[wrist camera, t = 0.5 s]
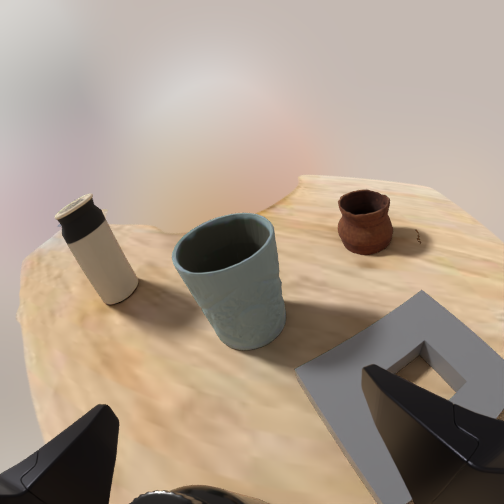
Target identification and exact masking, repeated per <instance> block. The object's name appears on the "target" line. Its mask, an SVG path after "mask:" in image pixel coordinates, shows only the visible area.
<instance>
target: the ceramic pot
mask: <svg viewBox="0 0 504 504" xmlns="http://www.w3.org/2000/svg"><path fill="white" fill-rule="evenodd" d="M338 204H339V208H340V211H341V213H342V218H341V219H340V221H339V223H338V233H339V236H340V237H341V239H342V242H343V244H344V246H345V247H346V248H347V249H348V250H349V251H351V252H353V253H356V254H360V255H370V254H374V253H377V252H380V251H382V250H383V249H385V248H386V247H387V246H388V245H389V243H390V241H391V239H392V234H393V227H392V224H391V221H390V218H389V216H388V210H389V206H390V199H389V198H388V197H387V196H386V195H381V194H380V193H378V192H374V191H370V190H357V191H353V192H350V193H347V194H345V195H343V196H342V197H340V200H339V201H338ZM416 232H417V233H418V231H417V230H416ZM417 240H420V239H419V234H418V238H417ZM418 242H420V241H418ZM420 244H421V242H420Z"/></svg>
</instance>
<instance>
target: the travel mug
mask: <svg viewBox="0 0 504 504" xmlns="http://www.w3.org/2000/svg"><path fill="white" fill-rule="evenodd" d="M92 197H93V195H92V194H87V195H85V196H82V197H80V198H79V199H77V200H75V201H73V202H72V203H70V204H69V205H67V206H66V207H64V208H63V209H62V210H61V211H59V212H58V213H57V214H56V216H55V219H57V220H58V221H59V222H60V224H61V225H62V236H63V237H64V239H65V241H66V243H67V245H68V246H69V248H70V250H71V252H72V253H73V255H74V257H75V258H76V260H77V262H78V263H79V265H80V267H81V268H82V270H83V271H84V273H85V275H86V276H87V278H88V279H89V281H90V282H91V284H92V285H93V287H94V288H95V290H96V291H97V293H98V294H99V296H100V297H101V299H102V300H103V302H104V303H106V304H115V303H118V302H121V301H123V300H124V299H126V298H127V297H128V296H129V295H131V294H132V293H133V291H134V290H135V288H136V287H137V285H138V278H137V276H136V274H135V273H134V271H133V269H132V268H131V266H130V264H129V262H128V260H127V259H126V257H125V255H124V253H123V251H122V250H121V248H120V246H119V244H118V242H117V240H116V238H115V236H114V234H113V233H112V231H111V229H110V227H109V225H108V223H107V221H106V219H105V217H104V215H103V213H102V210H101V209H99V208H98V207H97V206H95V205H94V202H93V199H92Z"/></svg>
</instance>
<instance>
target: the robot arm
mask: <svg viewBox="0 0 504 504" xmlns="http://www.w3.org/2000/svg"><path fill="white" fill-rule="evenodd" d="M361 387H362V391H363V393H364V396H365V399H366V401H367V404H368V407H369V410H370V412H371V415H372V418H373V421H374V423H375V426H376V428H377V430H378V432H379V434H380V436H381V438H382V440H383V442H384V443H385V445H386V447H387V449H388V451H389V453H390V455H391V457H392V459H393V461H394V463H395V465H396V467H397V469H398V471H399V473H400V475H401V477H402V479H403V481H404V483H405V485H406V487H407V489H408V491H409V494H410V496H411V498H412V500H413V502H414V504H504V421H502V420H499V419H495V418H492V417H488V416H485V415H482V414H479V413H476V412H474V411H471V410H469V409H466V408H464V407H462V406H459V405H457V404H453V402H451V401H449V400H446V399H444V398H442V397H440V396H438V395H436V394H434V393H432V392H430V391H428V390H426V389H423V388H421V387H419V386H417V385H415V384H413V383H411V382H409V381H407V380H405V379H403V378H401V377H399V376H397V375H395V374H393V373H392V372H390V371H388V370H386V369H384V368H382V367H380V366H378V365H376V364H371V365H368V366H365V367H363V368H362V379H361ZM118 433H119V420H118V418H117V416H116V415H115V414H114V412H113V411H112V409H111V408H110V407H109V406H108V405H106V404H98V405H96V406H95V407H94V408H93V409H91V410H90V411H89V412H87V413H86V414H85V415H84V416H82V417H81V418H80V419H78V420H77V421H76V422H74V423H73V424H72V425H71V426H69V427H68V428H67V429H65V430H64V431H63V432H61V433H60V434H59V435H57V436H56V437H55V438H53V439H52V440H51V441H49V442H48V443H47V444H45V445H44V446H43V447H41V448H40V449H39V450H38V451H36V452H35V453H34V454H32V455H30V456H29V457H28V458H26V459H25V460H23V461H22V462H20V463H18V464H17V465H15V466H13V467H12V468H10V469H8V470H6V471H4V472H3V473H1V474H0V504H109V498H110V491H111V484H112V478H113V472H114V467H115V461H116V454H117V444H118Z"/></svg>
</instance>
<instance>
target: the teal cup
mask: <svg viewBox="0 0 504 504" xmlns="http://www.w3.org/2000/svg"><path fill="white" fill-rule="evenodd" d="M172 260H173V264H174V266H175V268H176V269H177V271H178V273H179V274H180V276H181V278H182V279H183V281H184V282H185V284H186V286H187V287H188V288H189V290H190V292H191V294H192V295H193V297H194V299H195V300H196V302H197V303H198V305H199V306H200V307H201V308H202V311H203V313H204V315H205V316H206V318H207V319H208V321H209V322H210V324H211V325H212V327H213V328H214V330H215V332H216V334H217V335H218V337H219V338H220V340H221V341H222V342H223V343H224V344H226V345H227V346H229V347H231V348H234V349H238V350H252V349H256V348H260V347H263V346H265V345H267V344H268V343H270V342H271V341H273V340H274V339H275V338H276V337H277V336H278V335H279V334H280V333H281V331H282V330H283V328H284V325H285V322H286V310H285V304H284V300H283V297H282V288H281V285H282V282H281V280H280V278H279V262H278V253H277V247H276V241H275V233H274V227H273V225H272V224H271V222H270V221H268V220H267V219H266V218H265V217H263V216H260V215H258V214H252V213H237V214H230V215H225V216H221V217H218V218H215V219H212V220H209V221H207V222H205V223H203V224H201V225H199V226H197V227H195V228H194V229H192V230H191V231H190V232H188V233H187V234H186V235H184V236H183V237H182V238H181V239H180V241H179V242H178V243H177V244H176V246H175V248H174V250H173V253H172Z"/></svg>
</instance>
